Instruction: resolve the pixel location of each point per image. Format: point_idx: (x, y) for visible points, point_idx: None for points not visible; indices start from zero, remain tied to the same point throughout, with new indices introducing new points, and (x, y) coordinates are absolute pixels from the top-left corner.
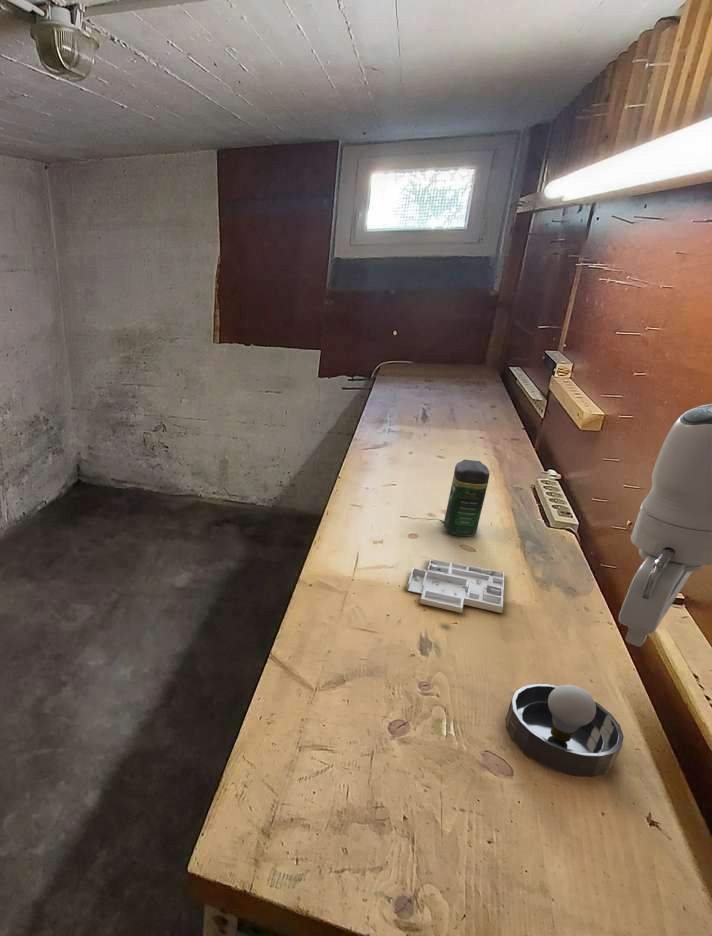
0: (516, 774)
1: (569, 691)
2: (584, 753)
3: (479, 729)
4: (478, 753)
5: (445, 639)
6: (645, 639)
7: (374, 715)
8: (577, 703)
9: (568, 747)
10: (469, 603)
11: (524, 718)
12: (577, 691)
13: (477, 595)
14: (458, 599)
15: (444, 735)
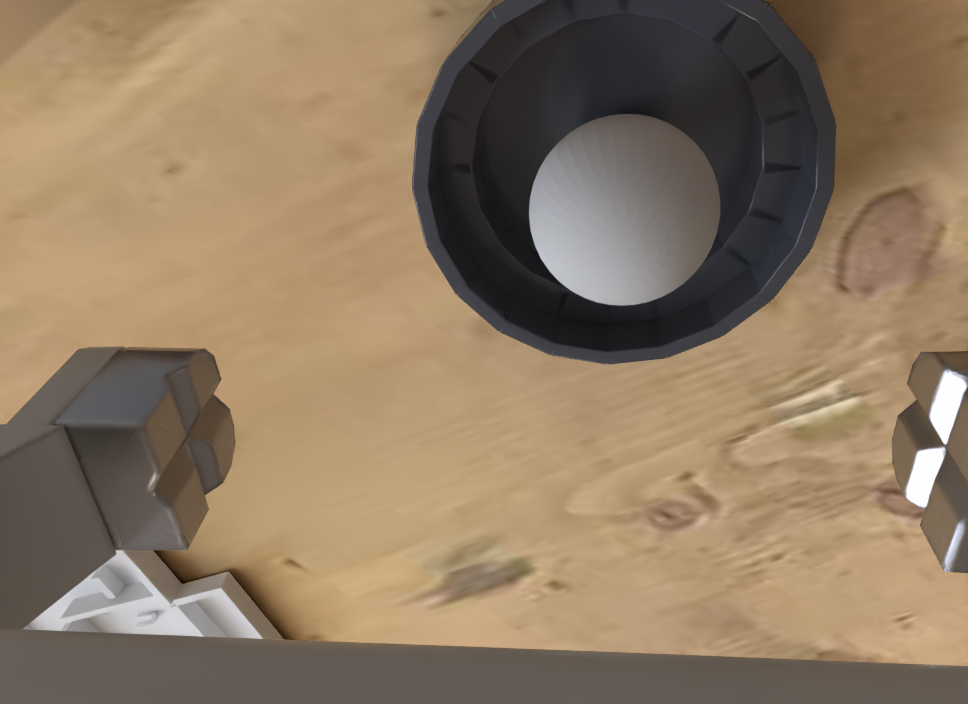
0: (891, 180)
1: (654, 270)
2: (799, 59)
3: (751, 339)
4: (872, 300)
5: (398, 553)
6: (953, 363)
7: (913, 554)
8: (690, 213)
9: (636, 103)
10: (166, 577)
11: None
12: (634, 247)
13: (104, 578)
14: (184, 606)
15: (860, 398)
